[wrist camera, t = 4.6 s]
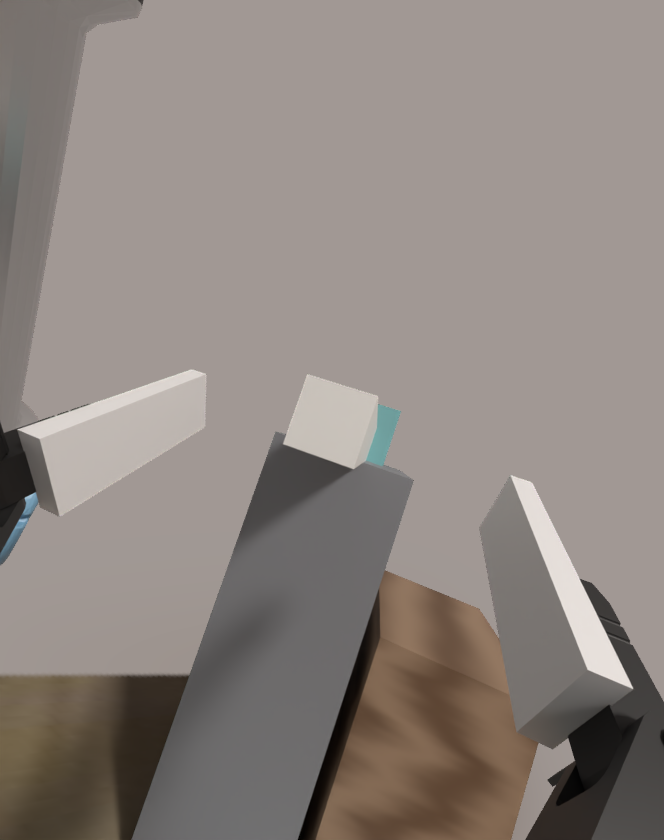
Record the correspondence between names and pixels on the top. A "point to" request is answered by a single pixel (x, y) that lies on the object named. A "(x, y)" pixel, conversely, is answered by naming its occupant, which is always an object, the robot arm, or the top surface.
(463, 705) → the tall wooden pillar
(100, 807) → the top surface
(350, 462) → the bar
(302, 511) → the tower
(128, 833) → the top surface
